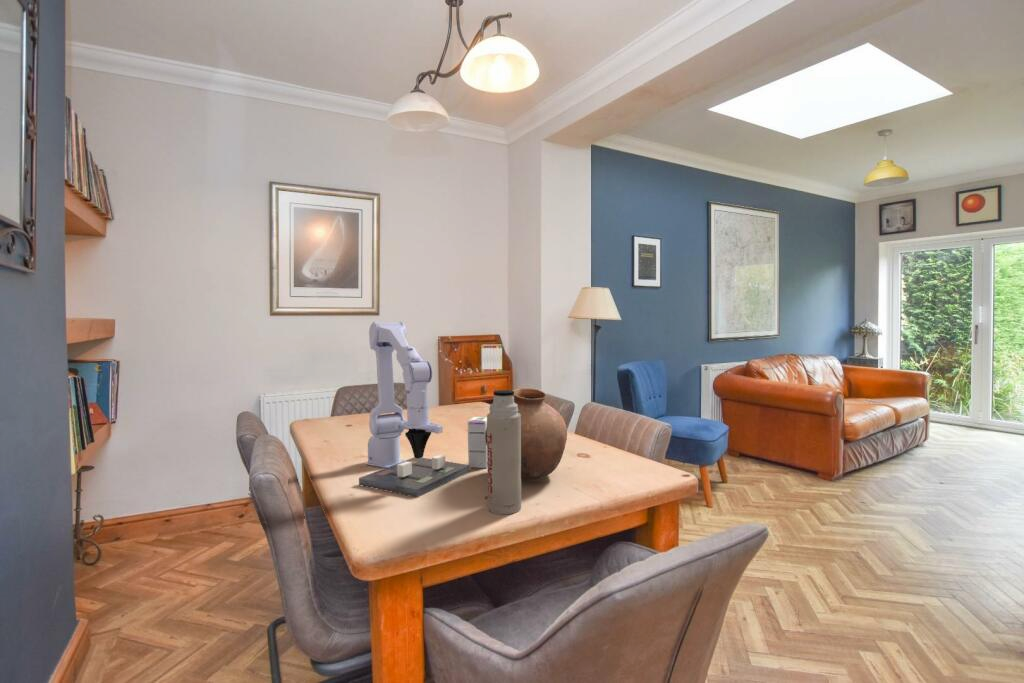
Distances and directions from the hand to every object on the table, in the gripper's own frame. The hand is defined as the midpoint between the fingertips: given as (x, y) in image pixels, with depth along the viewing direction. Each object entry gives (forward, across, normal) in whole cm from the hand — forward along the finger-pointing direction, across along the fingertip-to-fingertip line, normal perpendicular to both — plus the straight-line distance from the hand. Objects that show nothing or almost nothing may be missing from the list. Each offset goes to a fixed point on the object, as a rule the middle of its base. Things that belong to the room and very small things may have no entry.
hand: (418, 457), depth 137 cm
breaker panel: (+8, -5, +5) cm, 11 cm away
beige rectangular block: (+5, -5, 0) cm, 7 cm away
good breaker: (+5, -1, +10) cm, 11 cm away
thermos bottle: (+8, +28, -3) cm, 29 cm away
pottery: (+8, +22, +20) cm, 31 cm away
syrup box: (+8, +4, +24) cm, 26 cm away
